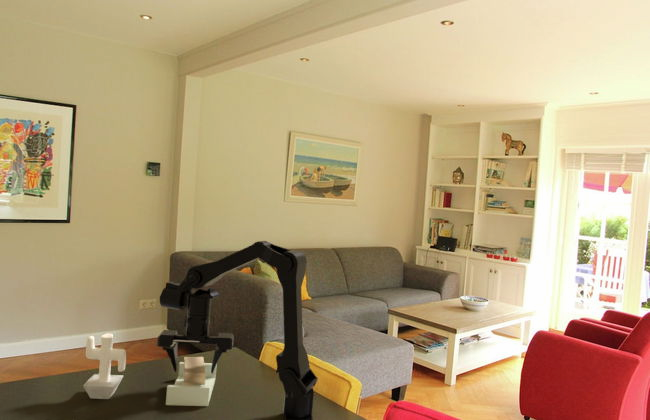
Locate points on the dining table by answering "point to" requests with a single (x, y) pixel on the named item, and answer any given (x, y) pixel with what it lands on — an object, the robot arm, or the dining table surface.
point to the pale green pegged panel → (191, 389)
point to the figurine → (104, 367)
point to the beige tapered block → (194, 371)
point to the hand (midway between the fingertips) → (194, 372)
